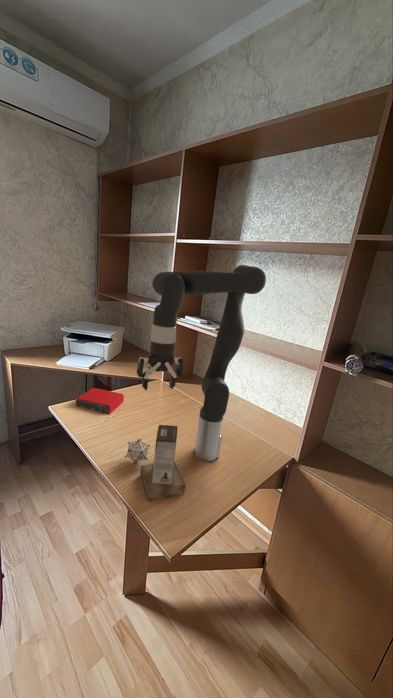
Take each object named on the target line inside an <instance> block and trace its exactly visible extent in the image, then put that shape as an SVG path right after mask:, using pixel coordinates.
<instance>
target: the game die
mask: <svg viewBox="0 0 393 698" xmlns="http://www.w3.org/2000/svg"><path fill="white" fill-rule="evenodd" d="M127 444H128V447H127V452H126V455H125V456H124V458H127V457H128V458H129V459H130V460H131V461H133V464H136V463H138V462H139V461H143V460H146V461H148V458H147V455H148V450H149V447H150V446H151V445H150V444H147V443H145V442H143V441H142V438H138V439H137V440H136V441H133V442H130V441H127Z"/></svg>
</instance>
